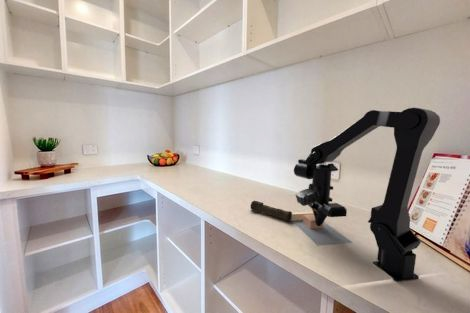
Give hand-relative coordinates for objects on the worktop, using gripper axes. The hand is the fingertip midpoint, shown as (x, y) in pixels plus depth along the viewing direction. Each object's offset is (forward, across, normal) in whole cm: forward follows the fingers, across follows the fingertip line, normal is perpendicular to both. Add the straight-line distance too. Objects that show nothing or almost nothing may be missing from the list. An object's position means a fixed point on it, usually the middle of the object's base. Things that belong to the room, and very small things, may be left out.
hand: (318, 225), depth 67 cm
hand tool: (+2, -15, -13) cm, 20 cm away
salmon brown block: (+2, -4, 0) cm, 4 cm away
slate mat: (+2, 0, 0) cm, 2 cm away
